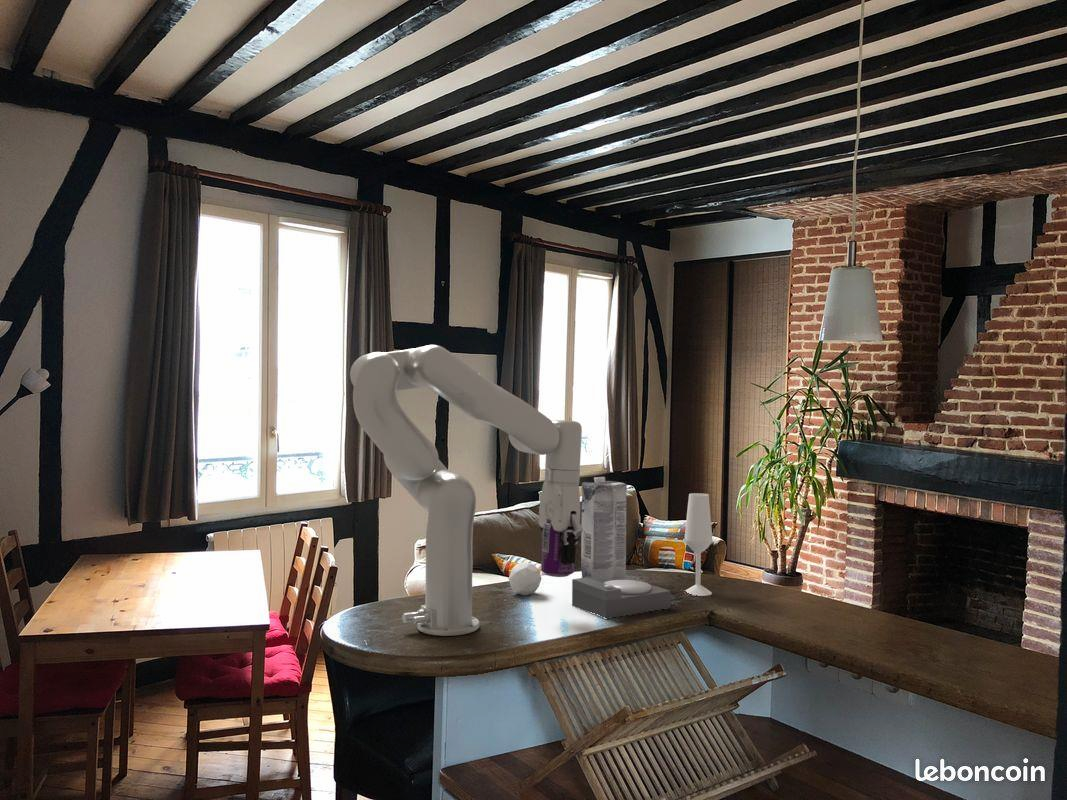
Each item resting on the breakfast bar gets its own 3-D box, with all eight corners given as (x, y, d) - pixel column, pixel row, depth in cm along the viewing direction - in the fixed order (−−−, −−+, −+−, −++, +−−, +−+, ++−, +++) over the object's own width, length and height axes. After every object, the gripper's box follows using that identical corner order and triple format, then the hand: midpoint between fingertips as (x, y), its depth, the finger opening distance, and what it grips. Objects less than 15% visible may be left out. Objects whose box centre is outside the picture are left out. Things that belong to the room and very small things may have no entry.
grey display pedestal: (605, 619, 170) (606, 588, 170) (572, 605, 182) (572, 576, 182) (670, 608, 180) (670, 579, 180) (634, 596, 191) (634, 568, 191)
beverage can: (570, 579, 168) (573, 522, 168) (537, 576, 169) (540, 519, 170) (575, 573, 175) (578, 518, 175) (544, 570, 176) (546, 516, 177)
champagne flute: (679, 592, 195) (680, 494, 195) (691, 587, 200) (692, 492, 200) (704, 597, 191) (705, 496, 190) (716, 591, 196) (717, 494, 196)
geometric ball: (528, 603, 194) (545, 575, 197) (531, 599, 186) (548, 569, 189) (502, 586, 195) (519, 558, 198) (503, 582, 187) (521, 553, 190)
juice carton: (630, 583, 204) (631, 478, 204) (597, 588, 199) (598, 479, 199) (609, 576, 212) (610, 475, 212) (576, 581, 206) (577, 476, 206)
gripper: (526, 473, 178) (522, 553, 178) (569, 481, 163) (565, 568, 163) (555, 473, 182) (551, 552, 181) (599, 481, 167) (595, 566, 167)
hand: (558, 559), depth 172 cm, fingers closed on beverage can, 6 cm apart
